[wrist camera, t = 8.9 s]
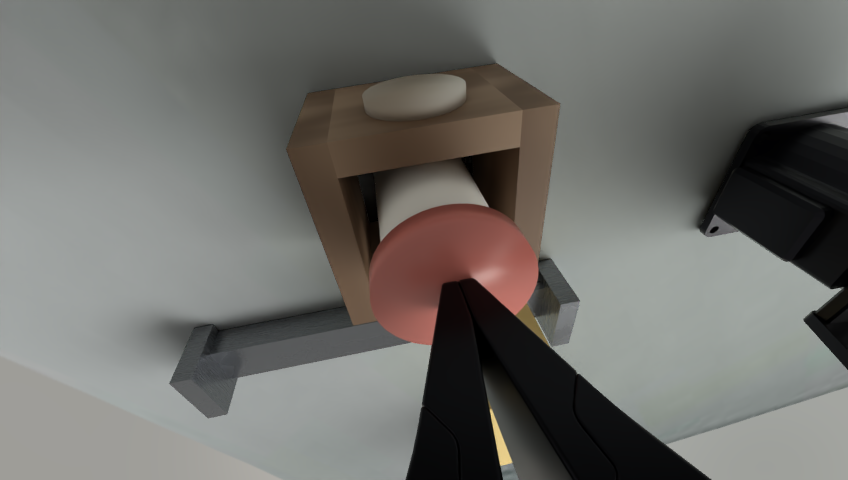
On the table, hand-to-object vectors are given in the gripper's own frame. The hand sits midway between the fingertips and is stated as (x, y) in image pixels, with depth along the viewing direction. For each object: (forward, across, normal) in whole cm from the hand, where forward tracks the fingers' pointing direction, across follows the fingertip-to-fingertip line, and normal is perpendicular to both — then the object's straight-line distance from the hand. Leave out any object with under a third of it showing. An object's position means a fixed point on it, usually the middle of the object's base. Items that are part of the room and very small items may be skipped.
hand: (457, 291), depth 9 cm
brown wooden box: (+7, 0, 0) cm, 7 cm away
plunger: (+7, 0, 0) cm, 7 cm away
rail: (+7, +3, +9) cm, 12 cm away
